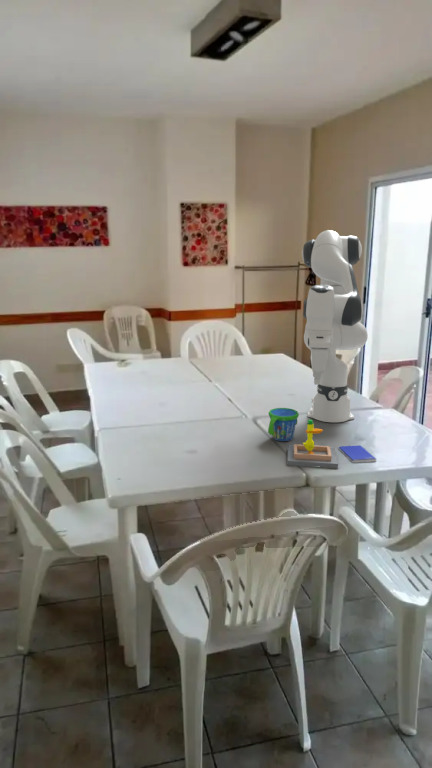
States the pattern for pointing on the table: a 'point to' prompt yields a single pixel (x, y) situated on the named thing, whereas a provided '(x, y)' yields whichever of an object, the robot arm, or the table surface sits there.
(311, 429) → the toy figure
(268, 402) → the table surface
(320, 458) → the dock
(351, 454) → the hard drive
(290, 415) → the snack cup
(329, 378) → the robot arm
